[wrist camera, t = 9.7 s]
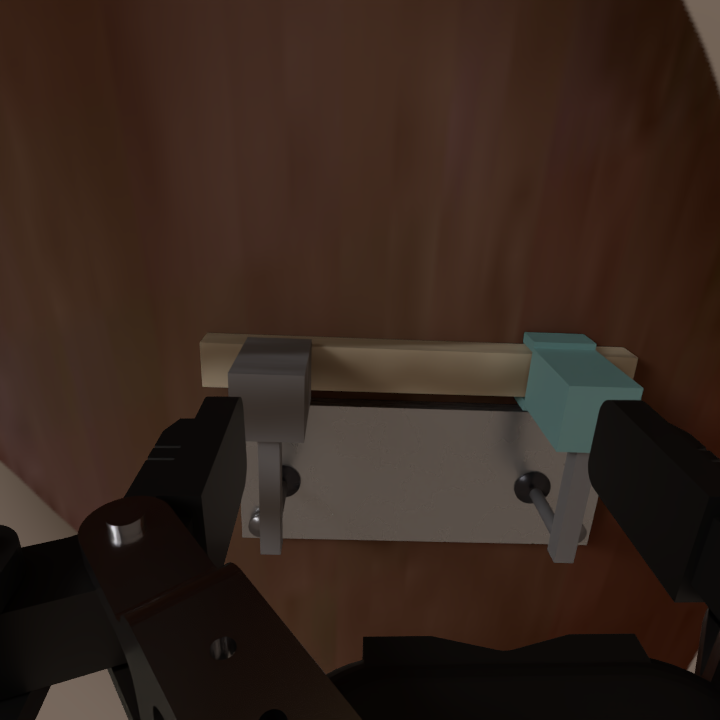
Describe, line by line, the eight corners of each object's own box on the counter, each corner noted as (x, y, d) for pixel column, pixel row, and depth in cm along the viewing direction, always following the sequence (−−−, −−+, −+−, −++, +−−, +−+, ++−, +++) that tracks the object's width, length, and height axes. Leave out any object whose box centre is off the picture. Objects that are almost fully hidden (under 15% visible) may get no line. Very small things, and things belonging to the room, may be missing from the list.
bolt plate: (240, 395, 37) (234, 407, 36) (609, 407, 38) (622, 419, 37) (245, 526, 41) (240, 543, 40) (580, 534, 42) (590, 551, 40)
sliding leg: (524, 332, 36) (570, 378, 29) (583, 334, 36) (645, 381, 29) (499, 490, 40) (533, 566, 33) (552, 491, 41) (598, 568, 33)
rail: (206, 325, 36) (169, 371, 28) (625, 340, 37) (696, 388, 29) (216, 481, 40) (185, 557, 32) (590, 491, 41) (644, 566, 33)
